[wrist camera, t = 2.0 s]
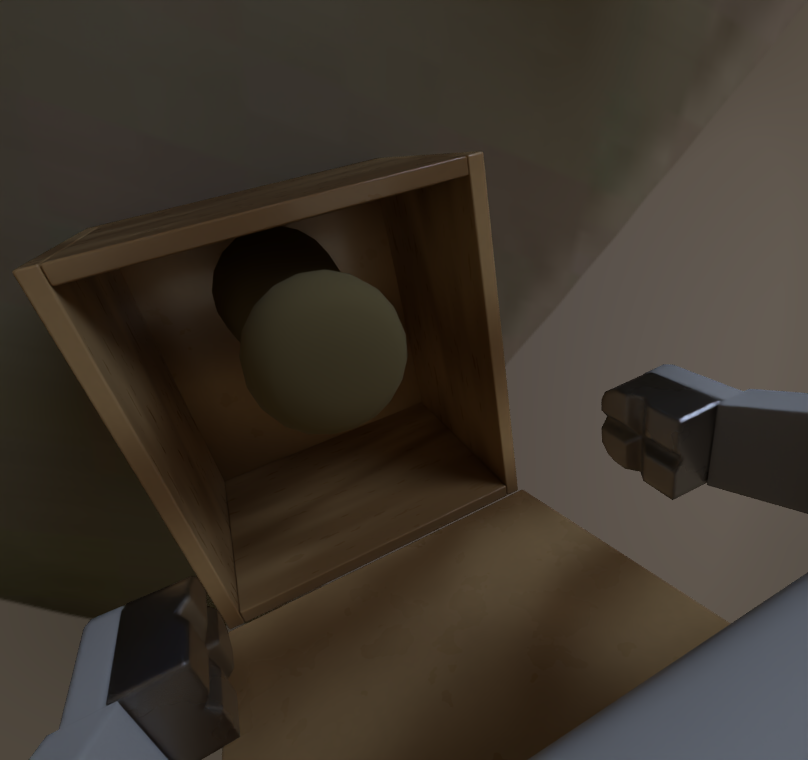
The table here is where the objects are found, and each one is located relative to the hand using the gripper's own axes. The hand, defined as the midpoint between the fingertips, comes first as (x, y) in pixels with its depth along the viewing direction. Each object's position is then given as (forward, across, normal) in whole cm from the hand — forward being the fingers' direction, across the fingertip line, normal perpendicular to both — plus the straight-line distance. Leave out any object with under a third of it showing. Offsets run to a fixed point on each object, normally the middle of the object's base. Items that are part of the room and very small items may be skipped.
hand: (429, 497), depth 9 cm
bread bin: (+17, 0, +2) cm, 18 cm away
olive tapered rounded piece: (+17, 0, 0) cm, 17 cm away
